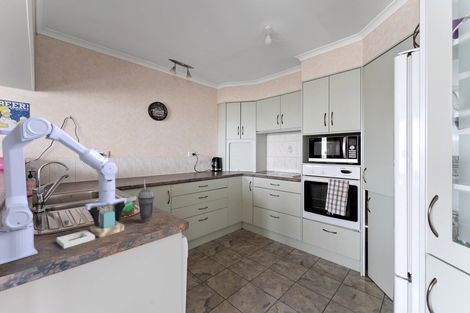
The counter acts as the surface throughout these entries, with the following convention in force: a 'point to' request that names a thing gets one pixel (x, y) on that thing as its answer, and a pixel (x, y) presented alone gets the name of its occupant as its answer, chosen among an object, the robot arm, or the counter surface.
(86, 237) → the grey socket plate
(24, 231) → the robot arm
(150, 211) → the beverage cup
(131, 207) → the food container
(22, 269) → the counter surface
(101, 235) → the ash socket block
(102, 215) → the teal plug
